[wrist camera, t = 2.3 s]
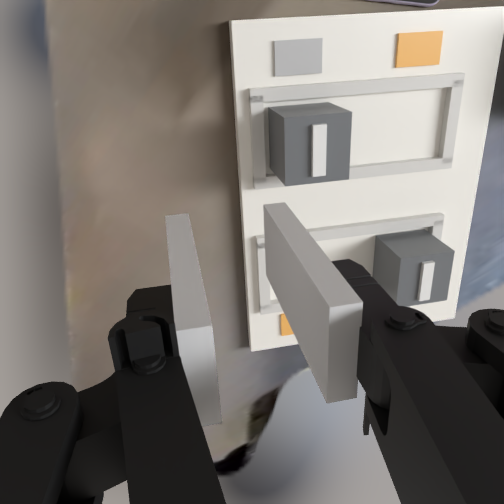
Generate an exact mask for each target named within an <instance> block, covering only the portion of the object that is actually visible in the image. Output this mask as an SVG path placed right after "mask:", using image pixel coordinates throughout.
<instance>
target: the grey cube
mask: <svg viewBox="0 0 504 504" xmlns="http://www.w3.org/2000/svg"><path fill="white" fill-rule="evenodd" d="M454 253H455V251H454V250H453V249H451V248H450V247H448V246H447V245H446V244H444V243H443V242H442V241H440V240H439V239H438V238H436V237H435V236H433V235H432V234H431V233H429V232H428V231H427V230H425V229H421V230H413V231H406V232H398V233H391V234H383V235H376V238H375V251H374V264H373V278H374V279H375V280H376V281H377V282H378V284H380V286H381V287H382V288H383V289H384V290H385V291H386V292H387V293H388V295H389V296H390V297H391V298H392V299H393V300H394V301H395V302H396V303H397V305H398V306H405V307H407V306H414V305H420V304H426V303H433V302H439V301H445V300H447V296H448V290H449V284H450V278H451V272H452V265H453V259H454Z"/></svg>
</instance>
